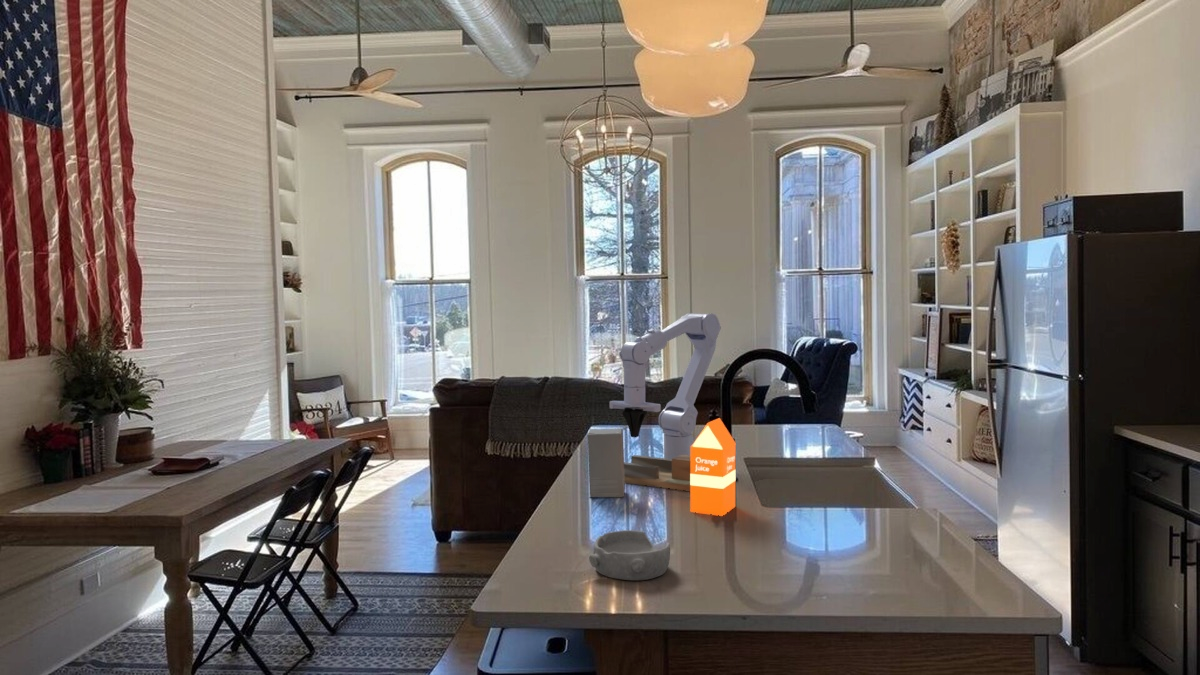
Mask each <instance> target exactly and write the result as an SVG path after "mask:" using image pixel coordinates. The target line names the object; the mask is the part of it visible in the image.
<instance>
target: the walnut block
mask: <svg viewBox="0 0 1200 675" xmlns="http://www.w3.org/2000/svg"><path fill="white" fill-rule="evenodd" d="M672 479H680V480H688V481H690V456H689V455H680V456H678V457H675V458H673V459H672Z"/></svg>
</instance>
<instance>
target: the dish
mask: <svg viewBox="0 0 1200 675" xmlns="http://www.w3.org/2000/svg"><path fill="white" fill-rule="evenodd" d="M588 558H589V563H590V565H591V566H592V567H593V568H595V570H596V571H597V572H598V573H599V574H601V575H602V576H604V577H608V578H612V579H617V580H624V581H646V580H651V579H656V578H658V577H661V576H662V575H664V574H665V573H666V572H667V571H668V567H669V564H670V558H671V545H670V542H665V545H664V547H663V548H660V549H657V548H656V547H655V546H654V544H653V543H652V542H651V541H650V539H649V538H648V536H647V534H646V532H644V531H643V530H635V529H634V530H633V529H631V530H630V529H626V530H616V531H610V532H606V533H604V534H603V535H601V536H598V537H597V538H596V540H595V541H594V544H593V553H592V554H590V555H589V556H588Z"/></svg>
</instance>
